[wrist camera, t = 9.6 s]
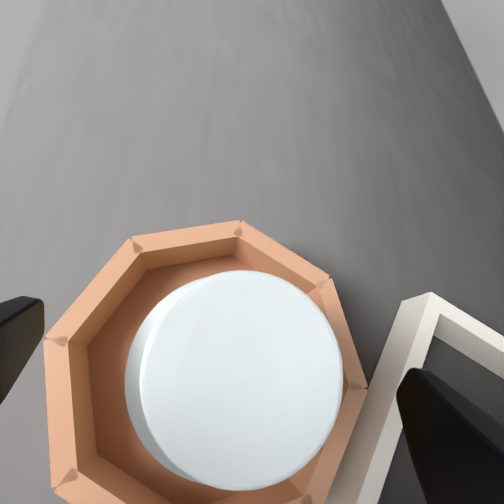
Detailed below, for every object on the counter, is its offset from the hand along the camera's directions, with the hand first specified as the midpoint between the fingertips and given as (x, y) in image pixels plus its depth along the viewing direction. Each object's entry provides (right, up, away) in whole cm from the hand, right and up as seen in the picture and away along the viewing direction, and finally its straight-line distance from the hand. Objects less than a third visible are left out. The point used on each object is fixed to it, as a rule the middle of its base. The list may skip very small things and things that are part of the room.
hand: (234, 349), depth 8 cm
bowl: (-2, -3, +8) cm, 9 cm away
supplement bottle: (-2, -3, +7) cm, 8 cm away
